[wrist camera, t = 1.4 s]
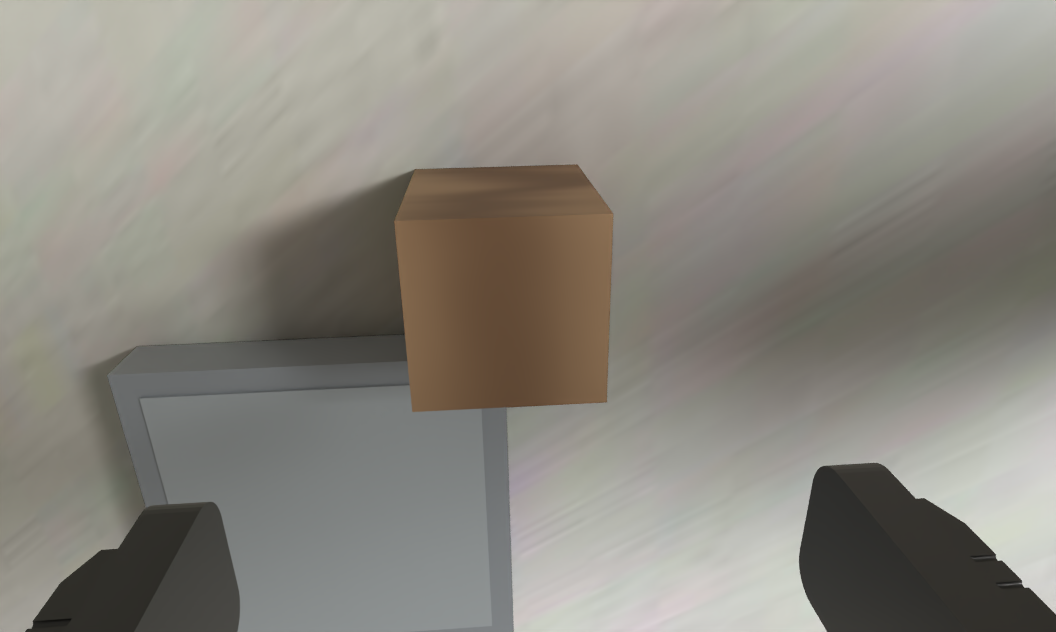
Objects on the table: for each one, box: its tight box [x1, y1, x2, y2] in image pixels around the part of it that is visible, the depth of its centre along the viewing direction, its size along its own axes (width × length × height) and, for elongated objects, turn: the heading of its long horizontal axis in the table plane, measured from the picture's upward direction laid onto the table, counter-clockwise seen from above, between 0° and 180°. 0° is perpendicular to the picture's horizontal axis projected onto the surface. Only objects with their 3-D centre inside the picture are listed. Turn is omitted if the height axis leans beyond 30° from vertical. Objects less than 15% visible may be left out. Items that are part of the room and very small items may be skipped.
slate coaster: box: [107, 334, 514, 632], centre depth 24 cm, size 12×12×2 cm
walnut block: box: [394, 165, 613, 412], centre depth 19 cm, size 5×5×6 cm
